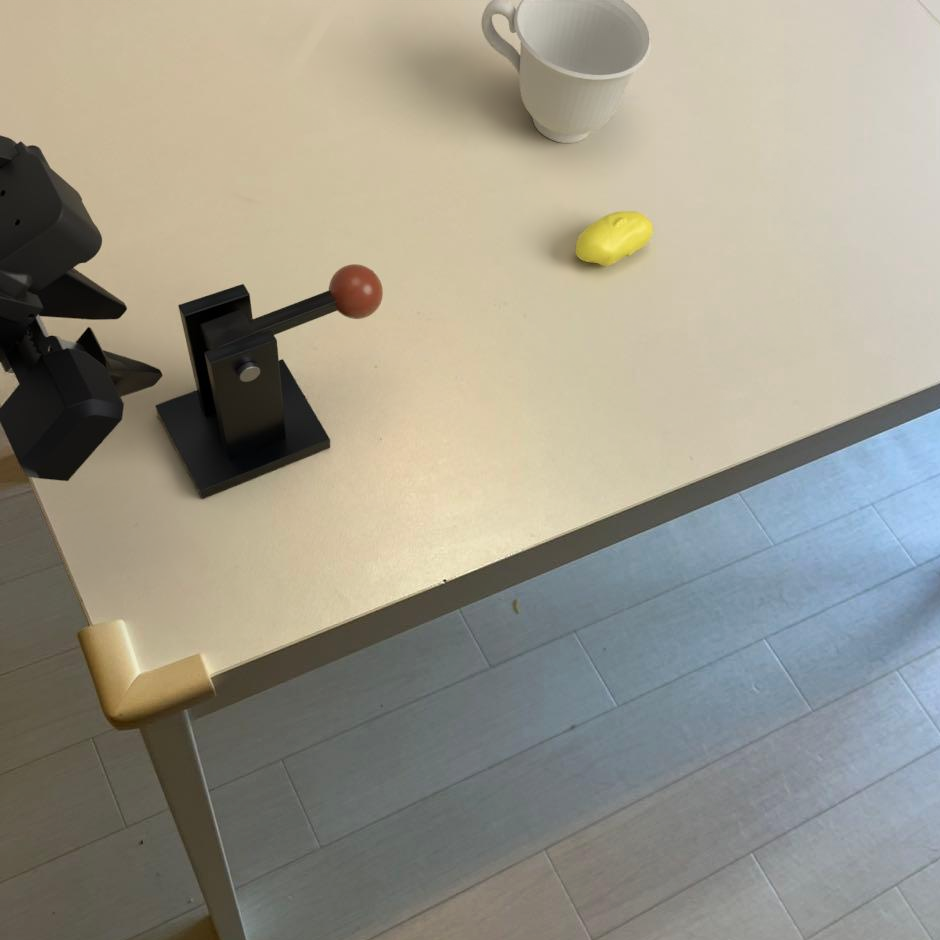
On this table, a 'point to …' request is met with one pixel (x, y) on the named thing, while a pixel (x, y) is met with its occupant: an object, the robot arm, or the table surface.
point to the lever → (303, 308)
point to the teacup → (571, 59)
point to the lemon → (614, 237)
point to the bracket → (237, 404)
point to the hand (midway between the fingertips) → (140, 344)
